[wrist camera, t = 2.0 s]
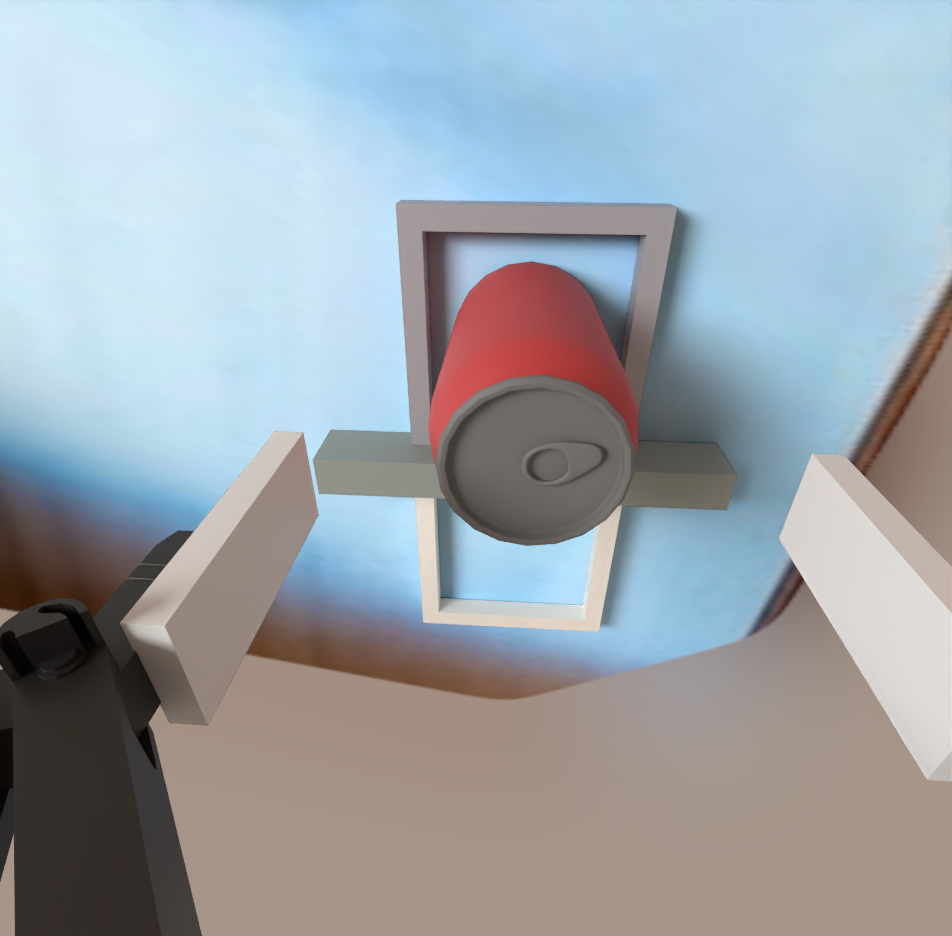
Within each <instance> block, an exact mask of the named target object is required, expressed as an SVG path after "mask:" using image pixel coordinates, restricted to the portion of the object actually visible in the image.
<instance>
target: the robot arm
mask: <svg viewBox="0 0 952 936" xmlns="http://www.w3.org/2000/svg"><path fill="white" fill-rule="evenodd" d="M317 517H318V509H317V504H316V499H315V493H314V488H313V483H312V477H311V472H310V466H309V461H308V456H307V450H306V445H305V440H304V434H303V432H281V431H275V432H274V433H273V435H272V436H271V437H270V438H269V440H268V441H267V442H266V443H265V444H264V446H263V447H262V448H261V449H260V451H259V452H258V453H257V454H256V456H255V457H254V458H253V459H252V461H251V462H250V463H249V464H248V465H247V467H246V468H245V469H244V470H243V472H242V473H241V474H240V475H239V477H238V478H237V479H236V480H235V482H234V483H233V484H232V485H231V486H230V488H229V489H228V490H227V491H226V493H225V494H224V495H223V496H222V498H221V499H220V500H219V501H218V503H217V504H216V505H215V506H214V507H213V509H212V510H211V511H210V512H209V514H208V515H207V516H206V517H205V519H204V520H203V521H202V522H201V524H200V525H199V526H198V527H197V528H196V530H195V531H177V532H175V533H174V534H172V535H171V536H169V537H168V538H166V539H165V540H163V541H162V542H160V543H159V544H157V545H156V546H155V547H154V548H153V549H152V551H151V552H150V553H149V554H148V555H147V556H146V557H145V559H144V560H143V561H142V562H141V563H142V564H141V566H138V567H137V568H136V569H135V570H134V571H133V572H132V574H131V575H130V576H129V580H125V582H124V583H123V584H122V585H121V586H120V587H119V588H118V590H117V591H116V592H115V593H114V594H113V595H112V596H111V598H110V599H109V600H108V601H107V602H106V603H105V604H104V606H103V607H102V608H101V609H100V610H99V611H98V612H97V614H96V615H95V616H94V617H93V618H92V616H91V614H90V613H89V611H88V609H87V607H86V606H85V604H84V603H83V602H81V601H78V600H76V599H73V598H63V599H53V600H49V601H46V602H42V603H38V604H36V605H34V606H32V607H29V608H27V609H25V610H23V611H21V612H19V613H18V614H16V615H15V616H13V617H12V618H11V619H9V620H8V621H7V622H5V623H4V624H3V625H2V626H1V627H0V665H1V666H2V668H3V669H2V670H0V881H1V877H2V873H3V870H4V866H5V863H6V859H7V855H8V852H9V848H10V845H11V841H12V837H13V834H14V873H15V874H14V876H15V877H14V878H15V879H14V880H15V936H202V934H201V930H200V926H199V922H198V918H197V914H196V910H195V906H194V901H193V897H192V893H191V888H190V885H189V880H188V876H187V872H186V868H185V863H184V859H183V855H182V851H181V847H180V843H179V838H178V834H177V830H176V826H175V822H174V817H173V813H172V809H171V805H170V801H169V797H168V792H167V788H166V784H165V780H164V776H163V771H162V767H161V763H160V759H159V755H158V751H157V746H156V742H155V738H154V734H153V731H152V729H151V727H150V725H149V724H148V723H149V721H150V720H151V718H152V716H153V715H154V713H155V712H156V710H157V708H158V707H159V705H161V707H162V709H163V711H164V713H165V715H166V717H167V719H168V721H169V722H170V723H181V724H194V725H207V726H208V725H209V723H210V721H211V719H212V717H213V715H214V713H215V711H216V709H217V707H218V705H219V704H220V702H221V700H222V698H223V696H224V694H225V692H226V690H227V688H228V687H229V685H230V683H231V681H232V679H233V677H234V675H235V673H236V671H237V669H238V667H239V665H240V663H241V662H242V660H243V658H244V656H245V654H246V652H247V650H248V648H249V647H250V645H251V643H252V641H253V639H254V637H255V635H256V633H257V631H258V629H259V627H260V626H261V624H262V622H263V620H264V618H265V616H266V614H267V612H268V610H269V608H270V607H271V605H272V603H273V601H274V599H275V597H276V595H277V593H278V591H279V589H280V587H281V586H282V584H283V582H284V580H285V578H286V576H287V574H288V572H289V570H290V568H291V567H292V565H293V563H294V561H295V559H296V557H297V555H298V553H299V551H300V549H301V547H302V546H303V544H304V542H305V540H306V538H307V536H308V534H309V532H310V530H311V528H312V527H313V525H314V523H315V521H316V519H317ZM779 539H780V541H781V543H782V544H783V546H784V548H785V549H786V551H787V552H788V554H789V556H790V557H791V559H792V561H793V562H794V564H795V565H796V567H797V569H798V570H799V572H800V574H801V575H802V577H803V578H804V580H805V582H806V583H807V585H808V587H809V588H810V590H811V591H812V593H813V595H814V596H815V598H816V600H817V601H818V603H819V604H820V606H821V608H822V609H823V611H824V613H825V614H826V616H827V617H828V619H829V621H830V622H831V624H832V626H833V627H834V629H835V630H836V632H837V634H838V635H839V637H840V639H841V640H842V642H843V643H844V645H845V647H846V648H847V650H848V651H849V653H850V655H851V656H852V658H853V660H854V661H855V663H856V665H857V666H858V668H859V669H860V671H861V673H862V674H863V676H864V678H865V679H866V681H867V682H868V684H869V686H870V687H871V689H872V690H873V692H874V694H875V695H876V697H877V699H878V700H879V702H880V703H881V705H882V707H883V708H884V710H885V712H886V713H887V715H888V717H889V718H890V720H891V721H892V723H893V725H894V726H895V728H896V730H897V731H898V733H899V734H900V736H901V738H902V739H903V741H904V743H905V744H906V746H907V747H908V749H909V751H910V752H911V754H912V756H913V757H914V759H915V760H916V762H917V764H918V765H919V767H920V769H921V770H922V772H923V773H924V775H925V777H926V778H927V780H937V781H951V782H952V567H951V566H950V565H949V564H948V563H947V562H946V561H945V560H944V559H943V557H941V556H940V554H939V553H938V552H937V551H936V550H935V549H934V548H933V547H932V546H931V545H930V544H929V543H928V542H927V541H926V540H925V539H924V538H923V537H922V536H921V535H920V534H919V533H918V532H917V531H916V530H915V528H914V527H913V526H911V524H910V523H909V522H908V521H906V519H905V518H904V517H903V516H902V515H901V514H900V513H899V512H898V511H897V510H896V509H895V508H894V507H893V506H892V505H891V504H890V503H889V502H888V501H887V499H885V497H884V496H883V495H882V494H881V493H880V492H879V491H878V490H877V489H876V488H875V487H874V486H873V485H872V484H871V483H870V482H869V481H868V480H867V479H866V478H865V477H864V476H863V475H862V474H861V473H860V472H859V471H858V469H857V468H856V467H855V466H854V465H853V464H852V463H851V462H850V461H849V460H848V459H847V458H846V457H845V456H844V455H831V454H812V455H811V458H810V460H809V463H808V465H807V468H806V470H805V473H804V476H803V478H802V481H801V483H800V486H799V488H798V491H797V493H796V496H795V498H794V501H793V504H792V506H791V509H790V511H789V514H788V516H787V519H786V521H785V524H784V527H783V529H782V532H781V534H780V537H779Z"/></svg>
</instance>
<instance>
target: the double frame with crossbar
mask: <svg viewBox="0 0 952 936" xmlns="http://www.w3.org/2000/svg"><path fill="white" fill-rule="evenodd" d="M676 212H677V207H675V206H673V205H671V204H639V203H568V202H497V201H425V200H401V201H399V202H398V203H396V213H397V229H398V244H399V259H400V274H401V289H402V305H403V320H404V335H405V350H406V366H407V381H408V396H409V411H410V426H411V433H403V432H374V431H345V430H330V432H329V434H328V435H327V437H326V439H325V440H324V442H323V444H322V445H321V447H320V449H319V450H318V452H317V454H316V455H315V457H314V459H313V463H314V469H315V474H316V480H317V485H318V491H319V494H340V495H365V496H390V497H415V502H416V518H417V533H418V548H419V563H420V578H421V594H422V609H423V623H439V624H458V625H478V626H497V627H517V628H536V629H556V630H575V631H594V632H599V628H600V622H601V617H602V612H603V606H604V601H605V595H606V590H607V585H608V579H609V574H610V568H611V563H612V558H613V552H614V547H615V541H616V536H617V531H618V525H619V520H620V514H621V509H622V506H637V507H662V508H687V509H712V510H727V507H728V503H729V500H730V497H731V494H732V491H733V488H734V484H735V481H736V478H737V474H736V473H735V471H734V469H733V468H732V466H731V465H730V463H729V462H728V460H727V458H726V457H725V455H724V454H723V452H722V450H721V449H720V447H719V446H718V444H717V443H691V442H663V441H638V444H637V450H636V453H635V460H634V476H633V479H632V481H631V484H630V486H629V489H628V491H627V493H626V496H625V498H624V500H623V501H622V502H621V503H620V505H619V506H618V507H617V508H616V509H615V510H614V512H613V513H612V514H611V515H610V516H609V517H608V519H607V520H605V521H604V522H602V523H601V524H599V525H598V526H596V527H594V534H593V540H592V547H591V553H590V559H589V566H588V572H587V579H586V585H585V592H584V598H583V604H582V605H569V604H549V603H528V602H508V601H488V600H467V599H447V598H441V589H440V564H439V539H438V513H437V498H439V499H446V498H445V496H444V495H443V493H442V491H441V489H440V485H439V480H438V475H437V470H436V466H435V462H434V457H433V453H432V448H431V443H430V438H429V432H428V423H429V417H430V410H431V403H432V397H433V387H432V362H431V337H430V311H429V286H428V261H427V236H426V231H435V232H495V233H555V234H614V235H640V238H639V245H638V251H637V258H636V264H635V270H634V277H633V283H632V290H631V296H630V302H629V309H628V315H627V322H626V328H625V335H624V341H623V347H622V354H621V360H620V362H621V364H622V366H623V369H624V371H625V373H626V375H627V378H628V380H629V383H630V386H631V388H632V391H633V394H634V397H635V400H636V402H637V405H638V417H639V412H640V406H641V401H642V396H643V390H644V385H645V379H646V374H647V369H648V363H649V358H650V352H651V347H652V342H653V336H654V331H655V325H656V320H657V315H658V309H659V304H660V298H661V293H662V288H663V282H664V277H665V271H666V266H667V261H668V255H669V250H670V244H671V239H672V234H673V228H674V223H675V217H676Z"/></svg>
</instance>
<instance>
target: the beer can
mask: <svg viewBox="0 0 952 936" xmlns="http://www.w3.org/2000/svg"><path fill="white" fill-rule="evenodd" d="M428 432H429V438H430V443H431V448H432V453H433V457H434V462H435V466H436V470H437V475H438V480H439V485H440V489H441V491H442V493H443V495H444V496H445V498H446V499H447V501H448V503H449V504H450V506H451V508H452V509H453V511H454V512H455V513H456V514H457V515H458V516H460V517H461V518H462V519H463V520H464V521H465V522H467V523H468V524H469V525H470V526H471V527H472V528H474V529H475V530H477V531H479V532H481V533H484V534H486V535H488V536H490V537H492V538H495V539H497V540H499V541H504V542H509V543H515V544H521V545H526V546H529V545H544V544H556V543H560V542H563V541H566V540H569V539H572V538H575V537H578V536H581V535H584V534H585V533H587V532H588V531H590V530H591V529H593V528H594V527H596V526H598V525H599V524H601V523H602V522H604V521H605V520H607V519H608V517H609V516H610V515H611V514H612V513H613V512H614V510H615V509H616V508H617V507H618V506H619V505H620V503H621V502H622V501H623V500H624V498H625V496H626V493H627V491H628V489H629V486H630V484H631V481H632V479H633V476H634V460H635V453H636V450H637V444H638V405H637V402H636V400H635V397H634V394H633V391H632V388H631V386H630V383H629V380H628V378H627V375H626V373H625V371H624V369H623V366H622V364H621V362H620V360H619V357H618V355H617V353H616V351H615V348H614V346H613V344H612V342H611V339H610V337H609V335H608V333H607V330H606V328H605V326H604V324H603V321H602V319H601V317H600V315H599V313H598V310H597V308H596V306H595V304H594V301H593V299H592V297H591V295H590V294H589V293H588V292H587V291H586V289H585V288H584V287H583V286H582V285H581V283H580V282H579V281H578V280H577V279H576V278H575V277H573V276H571V275H570V274H568V273H566V272H565V271H563V270H561V269H560V268H558V267H556V266H552V265H547V264H542V263H537V262H525V263H517V264H509V265H506V266H504V267H502V268H500V269H498V270H496V271H494V272H492V273H490V274H488V275H486V276H485V277H484V278H483V279H482V280H481V281H480V282H479V283H478V284H477V285H476V286H474V287H473V288H472V289H471V290H470V291H469V293H468V295H467V297H466V298H465V300H464V302H463V304H462V306H461V308H460V310H459V312H458V315H457V318H456V321H455V325H454V328H453V331H452V335H451V338H450V341H449V345H448V348H447V351H446V354H445V358H444V361H443V364H442V368H441V371H440V374H439V378H438V381H437V384H436V388H435V391H434V394H433V397H432V403H431V410H430V417H429V423H428Z"/></svg>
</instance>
